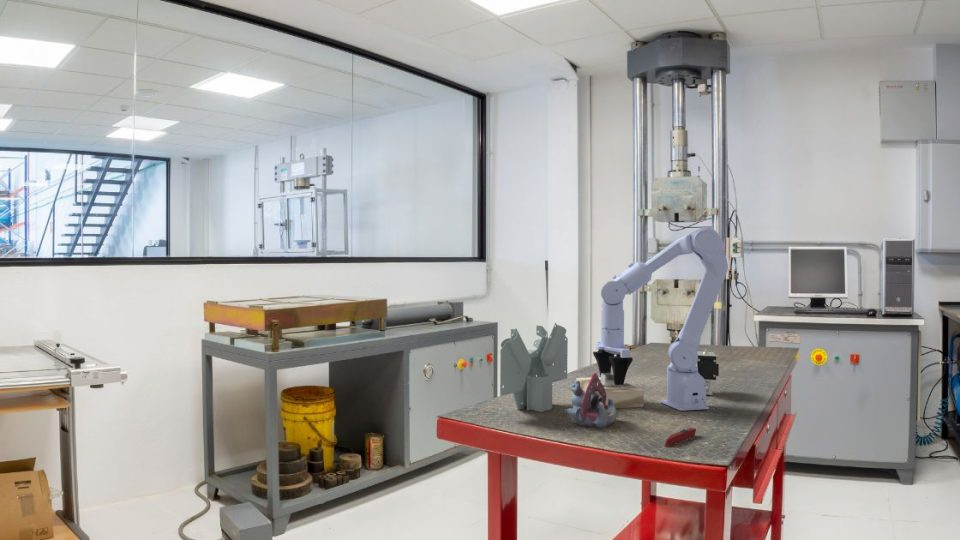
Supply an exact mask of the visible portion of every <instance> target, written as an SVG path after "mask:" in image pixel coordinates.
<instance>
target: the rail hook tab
mask: <svg viewBox="0 0 960 540" xmlns="http://www.w3.org/2000/svg"><path fill="white" fill-rule="evenodd" d="M600 377H601V383H602V385H603V387H624V384H623V385H615V384H614V378H613V372H611V373H601V376H600Z"/></svg>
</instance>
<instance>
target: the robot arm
mask: <svg viewBox="0 0 960 540" xmlns="http://www.w3.org/2000/svg"><path fill="white" fill-rule="evenodd" d="M724 244H725V243H724V241H723V239H722V238H721V236H720V235H719V233H718V232H717V231H716V230H715V229H714V228H711V227H708V226H707V227H706V226H705V227H704V226H703V227H699V228H697V229H696V230H694V231H692V232H691V233H689V234H686V235H685V236H682V237H680V238H678V239H676V240H675V241H673V242H672V243H669V245H667V246H666V247H665V248H663V249H662V250H661V251H660V252H657V254H655V255H654V256H652V257H651V258H650V259H648V260H647V261H646V262H640V261H636V262H635V263H632V262H631V263H629V264H628V265H627V267H628V268H626V269H625V270H623V271H622V272H620V273H619V274H618V275H616V274H615V275H612V279H613V280H609V281H607V282H606V283H605V284H603V286H602V288H601V291H600V295H601V298H602V302H601V308H602V309H601V311H600V312H601V313H600V341H596V342H595V343H596V350H597V351H593V352H592V354H593V356H594V359H595V360H596V364H597V367H598V372H599V375H600V376H599V377H601V373H613V378H614V384H615V385H623V384H624V382H625V380H626V378H627V377H626V376H627V372H628V370H629V368H630V366H631V364H632V363H633V361H634V360H633V357H631V356H630V355H631V352H630V349H629V348H627V347H626V346H625V310H624V299H625V297H626V295H632V294H633V293H635V292H636V291H637V290H639V289H641V288H642V287H644V286H645V285H646V284H648V283H649V282H651V280H652V275H653V273H654V272H656V271H657V270H659V269H660V268H662V267H663V266H666V264H668V263H670V262H672V261H673V260H675V259H676V258H677V257H679V256H682V255H688V254H689V255H690V254H694V255H696V256H697V257H698V258H699V259H700V261H701V264H702V265H703V267H704V269H705V270H704V273H703V275H702V277H701V280H700V283H699V284H698V285H699V286H698V287H697V291H696V293H695V296H694V298H693V300H692V302H691V305H690V308H689V310H688V313H687V315H686V318H685V321H684V323H683V324H682V325H683V326H682V328H681V330H680V331H679V333H678V334H677V336H676V339H675V340H674V341H673V342H672V343H671V344H670V345H669V347H668V350H667V355H668V358H669V359H670V363H669V365H667V366H666V399H660V400H659V402H660V404H662V405H663V404H664V405H666V406H668V407H671V408H673V409H676V410H678V411H679V412H680V411H682V412H686V411H697V410H709V409H710V408H709V406H707V394H706V388H707V386H706V382H705V380H704V378H703V377H702V376H701V375H699V373H698V368H697V367H696V364H697V361H698V354H697V351H699V347H700V345H701V337H702V335H703V332H704V331H705V327H706V325H707V322H708V320H709V318H710V315H711V312H712V310H713V308H714V305H715V303H716V300H717V297H718V296H719V294H720V293H719V292H720V291H721V288H722V285H723V282H724V280H725V277H726V275H727V273H728V270H729V264H728V260H727V255H726V251H725V246H724Z"/></svg>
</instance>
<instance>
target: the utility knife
mask: <svg viewBox="0 0 960 540" xmlns="http://www.w3.org/2000/svg"><path fill="white" fill-rule="evenodd" d="M696 431H697V428H695V427H689V428H687V429H685V428H684V429H683V428H682V430H680V431H678V432H676V433H673V434H670V435H669V436H668V437H667V438H666V441H665V444H664V447H665V448H668V446H669V447H672V446H675V445H677V444H676V443H678V444H680V443H682V441H683V442H684V441H687V439H688V440H690V439H693V438H695V435H696ZM692 437H693V438H692ZM689 438H690V439H689ZM674 444H675V445H674ZM671 445H672V446H671Z"/></svg>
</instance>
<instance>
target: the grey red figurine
mask: <svg viewBox="0 0 960 540" xmlns="http://www.w3.org/2000/svg"><path fill="white" fill-rule="evenodd" d="M590 377H591V379H590V381H589V384H588V386H587V389H582V388H581V387H580V382H579V380H577V381H576V380H571V381H572V383H571V384H570V386H569V389H570V391H572V392H573V393H572V397H571V406H572V407H569V408H565V409H564V411H565V413H566V414H568V415H569V416H570V417H571V418H572V419H573V421H575V422H576V424H577V425H579V426H584V427H594V428H606V427H609V426H610V425H613V423H614V422H615V421H616V419H617V417H618V415H617V414H618V412H617V408H615V405H614V401H613V399H612V398H609V399H608V405H606V404H605V403H606V392H605V389H604V387H603V385H602V383H601V381H600V380H599V378H598V377H599V375H598V374H597V373H596V372H593V373H592V375H591V376H590ZM597 383H598V386H597ZM591 386H592V387H591ZM596 391H598V392H599V393H600V397H599V395H598V394H597V393H596ZM598 397H599V399H598Z"/></svg>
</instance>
